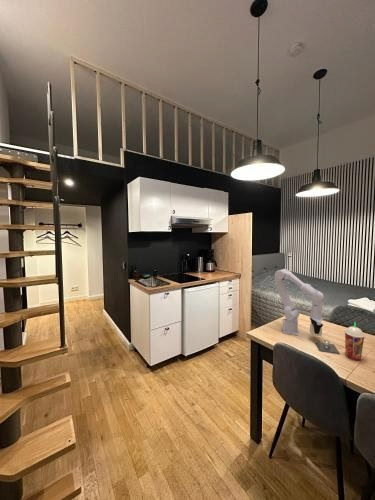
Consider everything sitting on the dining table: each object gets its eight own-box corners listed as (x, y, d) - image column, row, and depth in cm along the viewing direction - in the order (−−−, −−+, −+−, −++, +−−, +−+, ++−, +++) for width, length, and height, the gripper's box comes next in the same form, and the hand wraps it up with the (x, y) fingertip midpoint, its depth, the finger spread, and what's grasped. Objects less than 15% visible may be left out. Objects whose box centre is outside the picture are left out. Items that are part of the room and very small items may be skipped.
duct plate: (319, 351, 122) (319, 344, 121) (315, 342, 131) (315, 336, 131) (339, 354, 118) (339, 347, 118) (333, 345, 128) (334, 338, 127)
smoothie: (364, 363, 110) (366, 326, 108) (344, 358, 114) (346, 323, 113) (361, 356, 117) (363, 321, 115) (342, 351, 121) (344, 318, 120)
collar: (311, 335, 133) (311, 327, 132) (309, 331, 138) (310, 324, 138) (321, 336, 131) (322, 328, 130) (319, 332, 136) (319, 325, 136)
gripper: (327, 315, 125) (326, 337, 126) (320, 307, 139) (319, 327, 140) (313, 314, 127) (312, 335, 128) (308, 306, 141) (307, 326, 142)
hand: (315, 331), depth 134 cm, fingers closed on collar, 6 cm apart
